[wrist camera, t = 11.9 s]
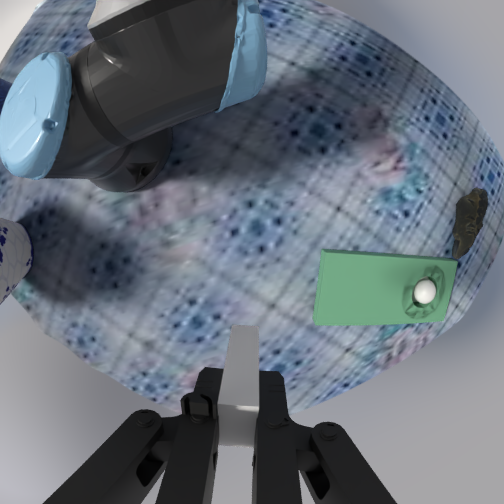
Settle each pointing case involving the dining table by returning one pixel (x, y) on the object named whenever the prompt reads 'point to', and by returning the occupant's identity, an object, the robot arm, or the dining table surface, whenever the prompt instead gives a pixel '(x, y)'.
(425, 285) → the ball
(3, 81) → the planter
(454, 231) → the stone
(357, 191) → the dining table surface
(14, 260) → the vase
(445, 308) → the green rectangular board
